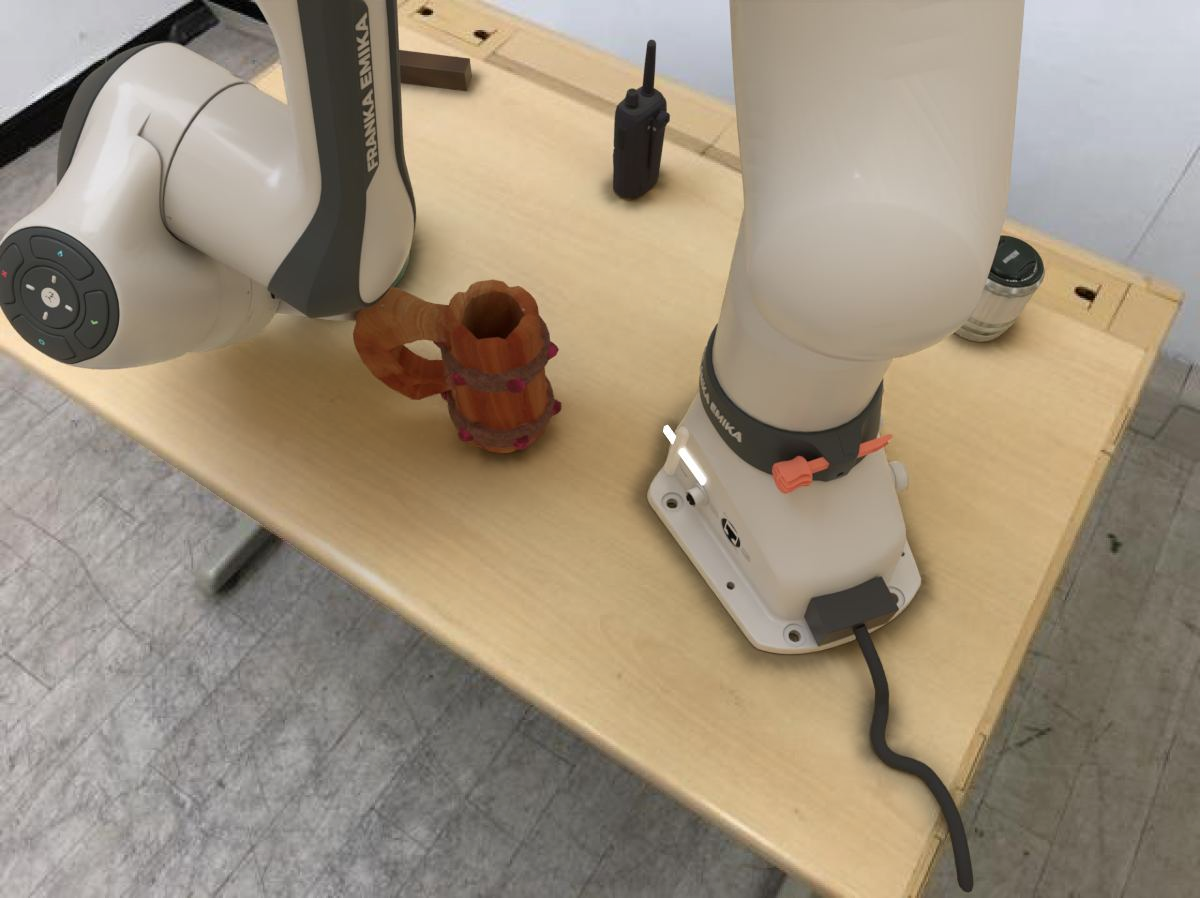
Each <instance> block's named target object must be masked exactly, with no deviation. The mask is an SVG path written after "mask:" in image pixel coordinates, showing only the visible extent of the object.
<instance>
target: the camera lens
mask: <svg viewBox="0 0 1200 898" xmlns="http://www.w3.org/2000/svg"><path fill="white" fill-rule="evenodd" d="M1045 275H1046V269H1045V265H1044V261H1043V258H1042V256H1041V254H1040V253H1038V251H1037V250H1036V248H1034V247H1033V246H1032V245H1031V244H1029V243H1028V242H1026V241H1024V240H1022V239H1021V238H1018V237H1016V236H1011V235H1005V234H1004V235H1003V234H1001V236H1000V239H999V243H998V246H997V250H996V253H995V256H994V260H993V263H992V266H991V269H990V272H989V275H988V278H987V281H986V284H985V287H984V289H983V292H982V295H981V298H980V300H979V302H978V305H977V307H976V309H975V310H974V312H973V313H972V315H971V316H970V317H969V319H968V320H967V321H966V322H965V323H964V324H963V325H962V326H961V327H960V328H959V329H958V330H957V331H956V332H954V333H955V334H956V335H957V336H959V337H961V338H963V339H965V340H967V341H972V342H977V343H982V342H983V343H984V342H988V341H989V342H990V341H992V340H995V339H998V338H999V337H1000V336H1001V335H1002V334H1004V333H1006V331H1008V330H1009V328H1010V327H1012V326H1013V325H1014V324H1015V322H1016V321H1017V319H1018V318H1019V317H1020V315H1021V313H1022V312H1023V310H1024V309H1025V307H1026V306H1027V305H1028V303H1029V302H1030V300H1031V299H1032V298H1033V296H1034V295H1035V293H1036V291H1037V290H1038V289H1039V287H1040V286H1041V285H1042V283H1043V282H1044V279H1045Z"/></svg>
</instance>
